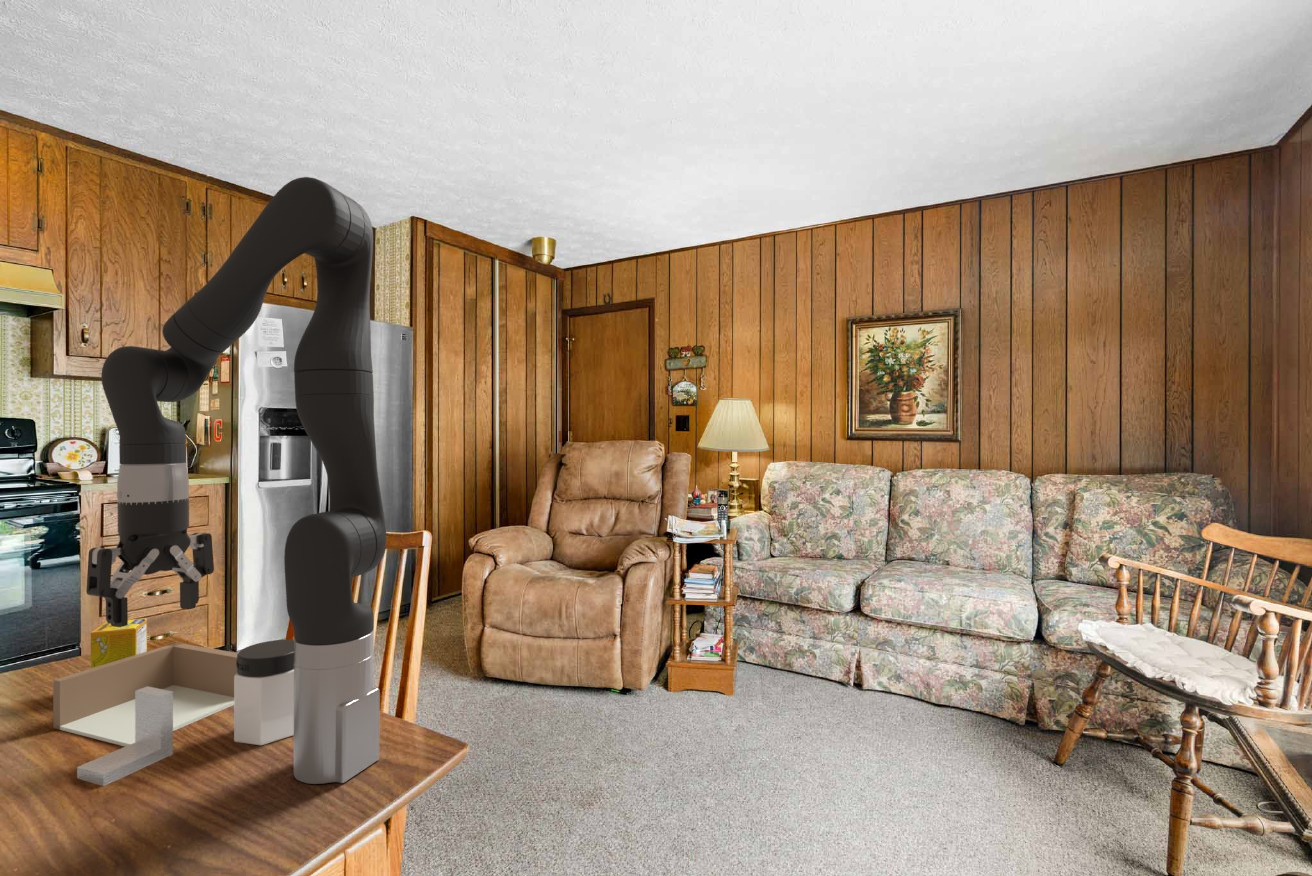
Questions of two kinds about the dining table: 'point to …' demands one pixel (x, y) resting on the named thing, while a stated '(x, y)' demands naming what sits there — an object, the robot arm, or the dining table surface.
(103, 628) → the supplement box
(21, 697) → the dining table surface
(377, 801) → the dining table surface
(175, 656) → the tray
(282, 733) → the jar
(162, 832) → the dining table surface
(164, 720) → the bracket
